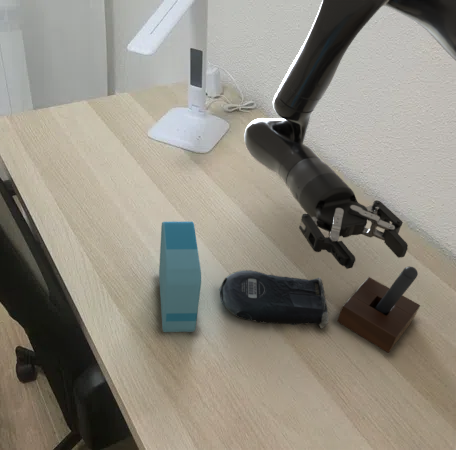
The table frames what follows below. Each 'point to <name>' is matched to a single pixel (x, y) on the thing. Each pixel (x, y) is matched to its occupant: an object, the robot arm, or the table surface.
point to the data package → (179, 277)
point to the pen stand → (377, 315)
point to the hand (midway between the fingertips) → (378, 258)
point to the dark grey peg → (397, 290)
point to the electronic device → (274, 298)
